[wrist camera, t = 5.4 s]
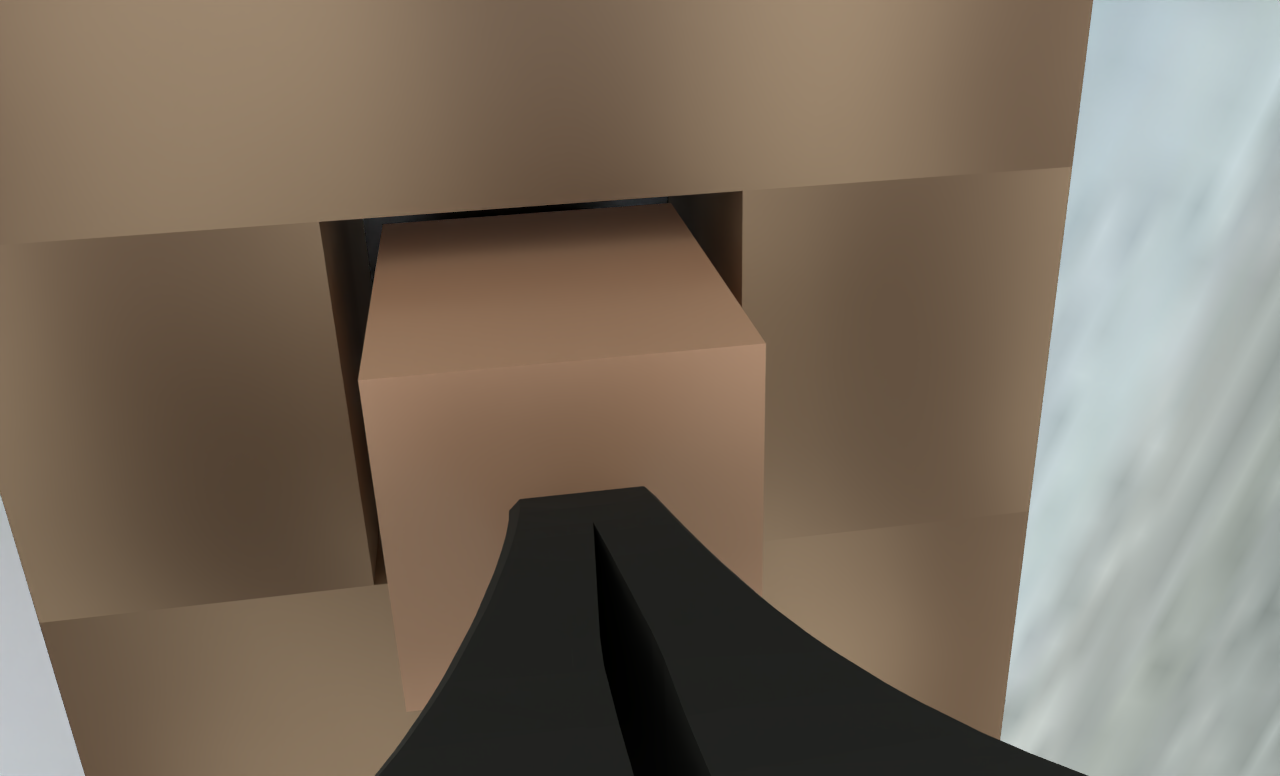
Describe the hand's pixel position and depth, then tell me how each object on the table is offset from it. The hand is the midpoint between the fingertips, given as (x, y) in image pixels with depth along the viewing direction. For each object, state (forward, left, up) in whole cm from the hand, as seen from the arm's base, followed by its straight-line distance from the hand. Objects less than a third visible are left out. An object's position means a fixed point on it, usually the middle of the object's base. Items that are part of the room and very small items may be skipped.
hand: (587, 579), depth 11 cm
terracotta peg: (0, 0, -6) cm, 6 cm away
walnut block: (0, -6, -10) cm, 11 cm away
